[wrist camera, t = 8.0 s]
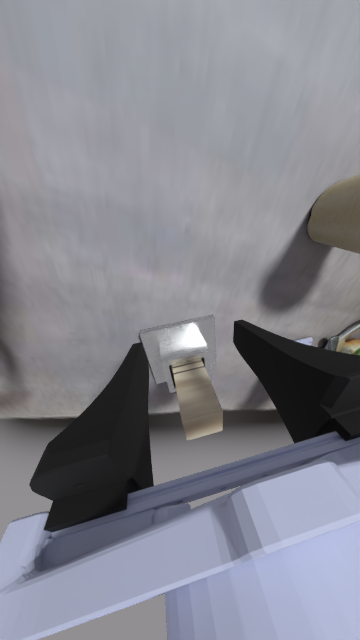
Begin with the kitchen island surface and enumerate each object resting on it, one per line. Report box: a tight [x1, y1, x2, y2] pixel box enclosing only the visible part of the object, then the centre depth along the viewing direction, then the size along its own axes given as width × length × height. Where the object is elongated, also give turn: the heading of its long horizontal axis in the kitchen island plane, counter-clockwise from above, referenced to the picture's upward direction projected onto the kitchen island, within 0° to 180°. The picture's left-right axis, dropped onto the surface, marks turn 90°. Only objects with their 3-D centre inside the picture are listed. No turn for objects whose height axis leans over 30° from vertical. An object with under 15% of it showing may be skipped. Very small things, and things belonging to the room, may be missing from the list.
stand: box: [140, 314, 216, 393], centre depth 24 cm, size 11×11×5 cm
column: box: [172, 358, 223, 440], centre depth 20 cm, size 4×4×9 cm
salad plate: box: [324, 321, 360, 355], centre depth 33 cm, size 19×18×5 cm
